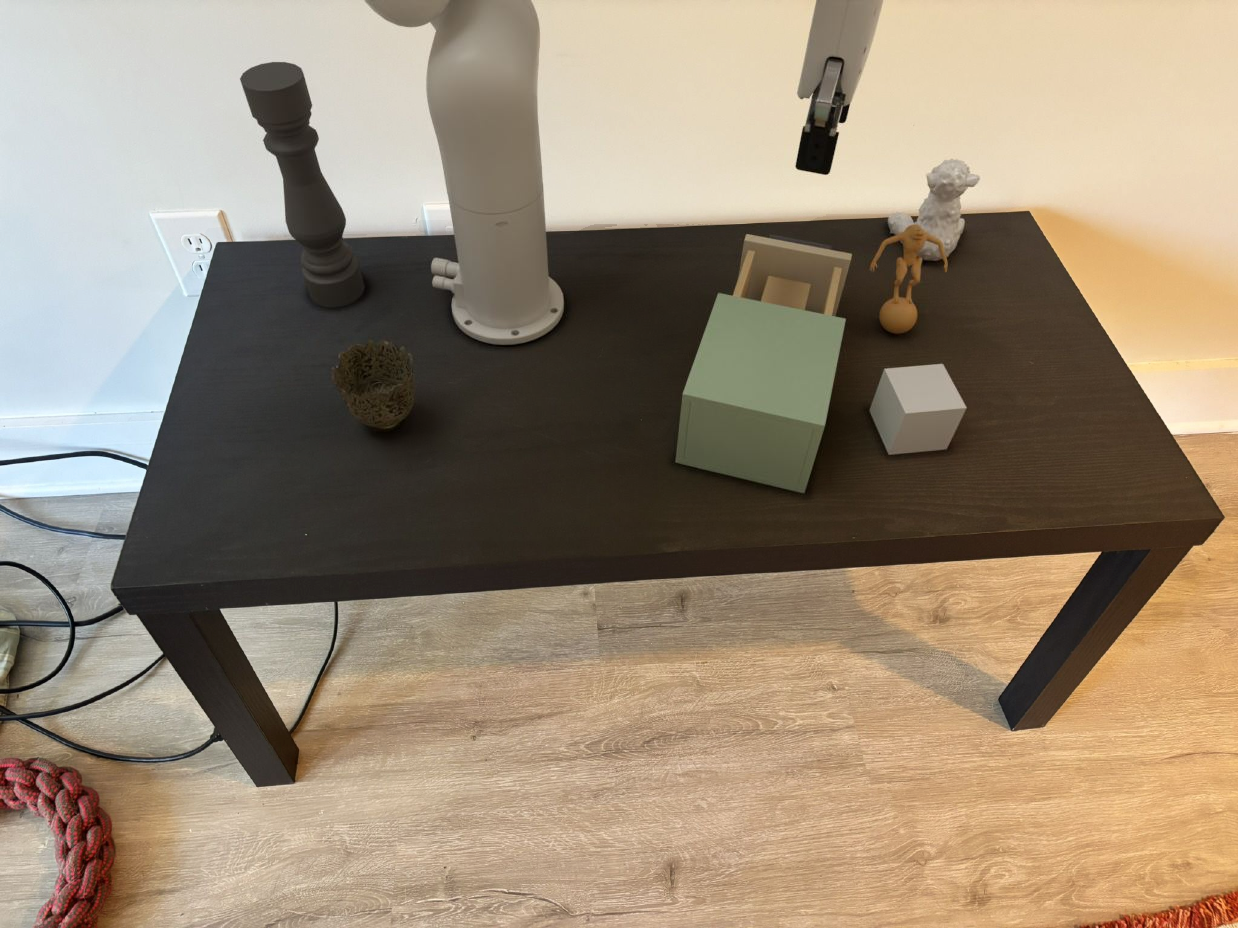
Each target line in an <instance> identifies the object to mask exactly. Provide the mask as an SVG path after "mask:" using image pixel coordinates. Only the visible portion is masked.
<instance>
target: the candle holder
mask: <svg viewBox="0 0 1238 928" xmlns="http://www.w3.org/2000/svg"><path fill="white" fill-rule="evenodd" d="M239 80H240V83H241V86H242V90H243V92H244V96H245V99H246V102H247V104H248V108H249V110H250V113H251V116H252V118H253V119H255V120H256V122H257V125H258V126H259V127H261V128H262V129H263V130H264V132H265V135H264V137H263V139H262V142H263V145H264V146H265V150H266V151H267V152H269V153H270V154H272V155H273V156H275V159H276V161H277V165H278V167H279V170H280V173H281V177H282V181H283V182H282V185H283V186H282V187H283V200H284V201H283V202H284V216H285V217H284V219H285V220H284V221H285V224H286V227H287V230H288V233H289V235H290V236H291V238H292V239H294V240H295V241H296V242H298V243H299V244H300V245H301V248H302V249H303V250H302V252H301V256H300V258H299V259H300V262H301V265H302V269H301V273H302V275H303V278H304V282H305V284H306V287H307V290H308V293H309V297H310V299H311V301H312V302H313V303H315V304H316V305H317V306H320V307H324V308H342V307H345V306H349V305H350V304H353V303H355V302H356V301H358V300H359V298H360V297H361V296H362V295H363V294H364V290H365V288H366V287H365V282H364V279H363V276H362V271H361V269H360V264H359V262H358V260H357V257H356V256H354V252H353V249H352V247H351V246H350V245H349V244H347V242H345V241H344V236H343V235H344V232H345V228H346V226H347V218H346V214H345V212H344V210H343V208H342V206H341V204H340V202H339V200H338V198H337V197H336V196H335V193H334V192H333V190H332V189H331V186H330V185H329V183H328V181H327V180H326V177H325V176H324V174H323V173H322V170H321V166H320V163H319V159H318V156H317V153H316V147H317V145H318V143H319V140H320V137H319V134H318V131H317V129H315V128H314V127H312V126H310V123H311V122H310V119H311V117H312V115H313V114H312V111H311V110H312V108H313V102H312V99H311V96H310V91H309V88H308V84H307V81H306V78H305V73H304V71H303V69H302V67H300V66H298V65H296V64H295V63H291V62H287V61H271V62H264V63H260V64H257V65H255V66H252V67H249V68H248V69H247V70H245V71H244V72H243V73H242V74H241V76H240V77H239Z"/></svg>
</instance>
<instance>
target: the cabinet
mask: <svg viewBox="0 0 1238 928" xmlns="http://www.w3.org/2000/svg"><path fill="white" fill-rule="evenodd" d="M846 321H847V319H846V318H844V317H839V316H830V315H825V314H820V313H815V312H810V311H805V310H800V309H795V308H790V307H786V306H781V305H776V304H771V303H766V302H761V301H756V300H751V299H746V298H741V297H736V296H733V295H731V294H730V295H729V294H725V293H721V292H718V293H717V295H716V297H715V301H714V303H713V306H712V309H711V312H710V315H709V319H708V320H707V324H706V326H705V329H704V332H703V335H702V337H701V341H700V343H699V347H698V349H697V351H696V355H695V358H694V361H693V363H692V366H691V369H690V372H689V374H688V377H687V380H686V383H685V385H684V389H683V391H682V396H681V405H680V414H679V415H680V416H679V425H678V433H677V442H676V453H675V463H676V464H680V465H684V466H688V467H692V468H697V469H700V470H704V471H708V472H712V473H717V474H721V475H726V476H730V477H733V478H737V479H742V480H746V481H749V482H750V481H751V482H754V483H759V484H763V485H768V486H771V487H776V488H780V489H784V490H788V491H792V492H796V493H801V494H805V493H806V489H807V486H808V483H809V479H810V476H811V473H812V470H813V466H814V463H815V460H816V456H817V455H818V454H817V453H818V451H819V447H820V444H821V440H822V437H823V434H824V430H825V427H826V423H827V417H828V413H829V407H830V402H831V397H832V392H833V386H834V383H835V382H834V381H835V376H836V372H837V366H838V362H839V357H840V351H841V346H842V341H843V336H844V331H845V326H846Z"/></svg>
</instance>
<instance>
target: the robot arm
mask: <svg viewBox="0 0 1238 928" xmlns="http://www.w3.org/2000/svg"><path fill="white" fill-rule="evenodd" d="M363 1H364V2H365V3H366V5H367V6H368V7H369V8H370V9H371V10H372V11H373V12H374V13H375V14H376V15H378V16H380V17H381V18H382V19H383V20H385V21H387V22H389V23H391V24H394V25H396V26H399V27H404V28H419V27H422V26H423V27H424V26H425V25H427V24H429V23H430V25H431V26H432V27H433V29H434V30H435V32H434V36H433V40H432V44H431V48H430V52H429V55H428V59H427V67H426V79H425V80H426V81H425V83H426V84H425V87H426V89H425V90H426V91H425V92H426V100H427V105H428V106H427V107H428V111H429V112H428V113H429V115H430V119H431V123H432V126H433V129H434V133H435V138H436V141H437V144H438V148H439V154H440V158H441V165H442V169H443V176H444V177H443V178H444V184H445V188H446V194H447V199H448V204H449V205H448V206H449V212H450V217H451V218H450V219H451V223H452V230H453V235H454V243H455V249H456V256H457V261H458V262H455V261H452V260H450V259H446V258H440V257H434V258H433V259H432V261H431V265H430V272H431V274H432V275H434V276H433V278H432V281H431V284H432V287H433V288H434V289H440V290H446V291H447V290H448V291H450V292H451V293H452V294H453V296H452V299H451V313H452V318H453V321H454V322H455V324H456V325H457V327H458V328H459V330H461V332H463V334H465V335H467V336H469V337H470V338H472V339H474V340H476V341H479V342H482V343H486V344H491V345H499V346H510V345H511V346H512V345H513V346H514V345H519V344H525V343H528V342H531V341H535V340H537V339H538V338H541V337H543V336H545V335H546V334H548V333H549V332H550V331H552V330H553V329H554V328H555V327H556V326H557V325H558V324H559V322H560V320H561V319H562V317H563V313H564V310H565V308H564V307H565V300H564V293H563V291H562V289H561V287H560V286H559V285H558V283H557V282H556V281H555V280H554V279H552V277H551V276H549V261H548V260H549V259H548V258H549V257H548V245H547V242H548V241H547V229H546V228H547V227H546V226H547V225H546V211H545V210H546V209H545V192H544V181H543V180H544V178H543V165H542V151H541V149H542V148H541V139H540V127H539V115H538V114H539V110H538V109H539V108H538V107H539V106H538V105H539V103H538V85H539V84H538V82H539V80H538V79H539V67H540V66H539V65H540V47H541V27H540V21H539V17H538V14H537V10H536V8H535V4H534V3H533V1H532V0H363ZM883 4H884V0H816V1H815V5H814V9H813V14H812V19H811V23H810V28H809V32H808V38H807V44H806V49H805V53H804V58H803V64H802V68H801V73H800V78H799V82H798V87H797V92H796V95H797V97H798V99H799V100H804V99H808V100H809V99H810V98H811V100H810V104H809V108H808V112H807V115H806V120H805V124H804V125H803V126H802V128H801V129H802V130H801V135H800V139H799V146H798V150H797V155H796V161H795V165H794V166H795V167H794V168H795V169H796V170H797V171H801V172H808V173H812V174H818V175H822V176H827V175H829V174H830V173H831V169H832V166H833V162H834V157H835V153H836V148H837V144H838V140H839V136H840V132H839V131H837V130H838V126H839V124H844V123H846V121H847V119H848V115H849V110H850V106H851V103H852V101H853V98H854V96H855V94H856V90H857V88H858V85H859V83H860V81H861V78H862V75H863V72H864V69H865V67H866V65H867V64H866V63H867V60H868V57H869V54H870V51H871V48H872V45H873V42H874V37H875V35H876V31H877V26H878V24H879V19H880V15H881V12H882V7H883ZM452 278H453V279H452Z"/></svg>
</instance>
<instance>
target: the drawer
mask: <svg viewBox="0 0 1238 928" xmlns="http://www.w3.org/2000/svg"><path fill="white" fill-rule="evenodd" d="M832 247H833V246H832V245H829V244H824V243H818V242H814V241H807V240H802V239H797V238H791V237H786V236H780V235H777V234H776V235H775V234H769V235H768V237H765V236H760V235H754V234H750V233H749V234H748V233H746V234H745V236H744V239H743V245H742V252H741V258H740V263H739V264H740V265H739V271H738V277H737V281H736V284H735V287H734V290H733V294H732V296H736V297H741V298H746V299H751V300H756V301H761V298H762V295H763V292H764V289H765V285H766V282H767V279H768V276H773V277H778V278H783V279H788V280H793V281H798V282H803V283H808V284H811V287H810V292H809V296H808V300H807V304H806V308H805V311H810V312H815V313H820V314H825V315H830V316H835V317H837V312H838V308H839V305H840V301H841V297H842V293H843V290H844V287H845V283H846V280H847V275H848V272H849V268H850V265H851V261H852V258H853V257H852V256H853V253H851V252H850V253H849V252H845V251H838V250H834V249H832Z"/></svg>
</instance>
